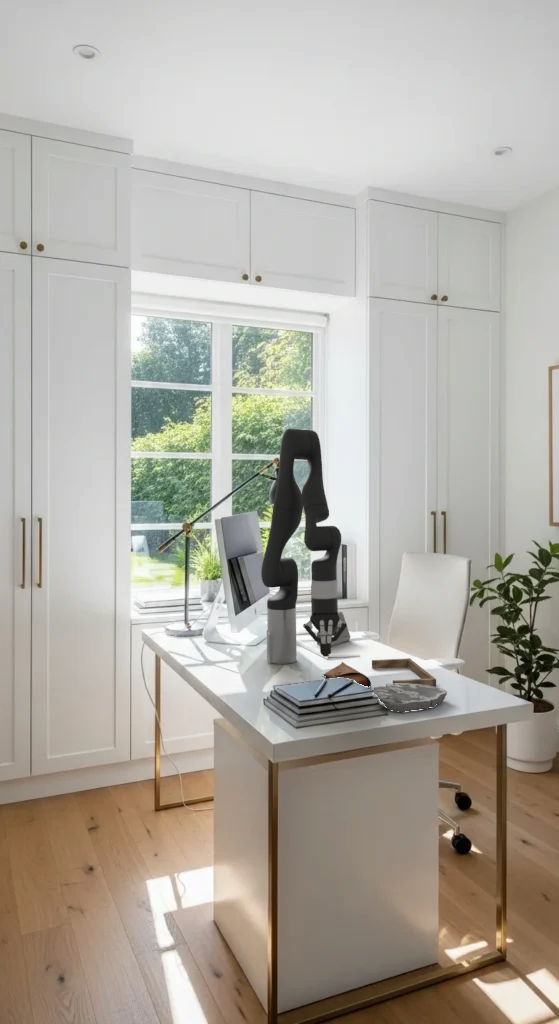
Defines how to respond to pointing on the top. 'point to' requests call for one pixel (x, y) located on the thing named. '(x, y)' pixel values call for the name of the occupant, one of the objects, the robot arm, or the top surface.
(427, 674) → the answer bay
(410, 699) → the grey flat stone slab
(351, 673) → the sunglasses case
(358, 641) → the top surface
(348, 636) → the digital clock
